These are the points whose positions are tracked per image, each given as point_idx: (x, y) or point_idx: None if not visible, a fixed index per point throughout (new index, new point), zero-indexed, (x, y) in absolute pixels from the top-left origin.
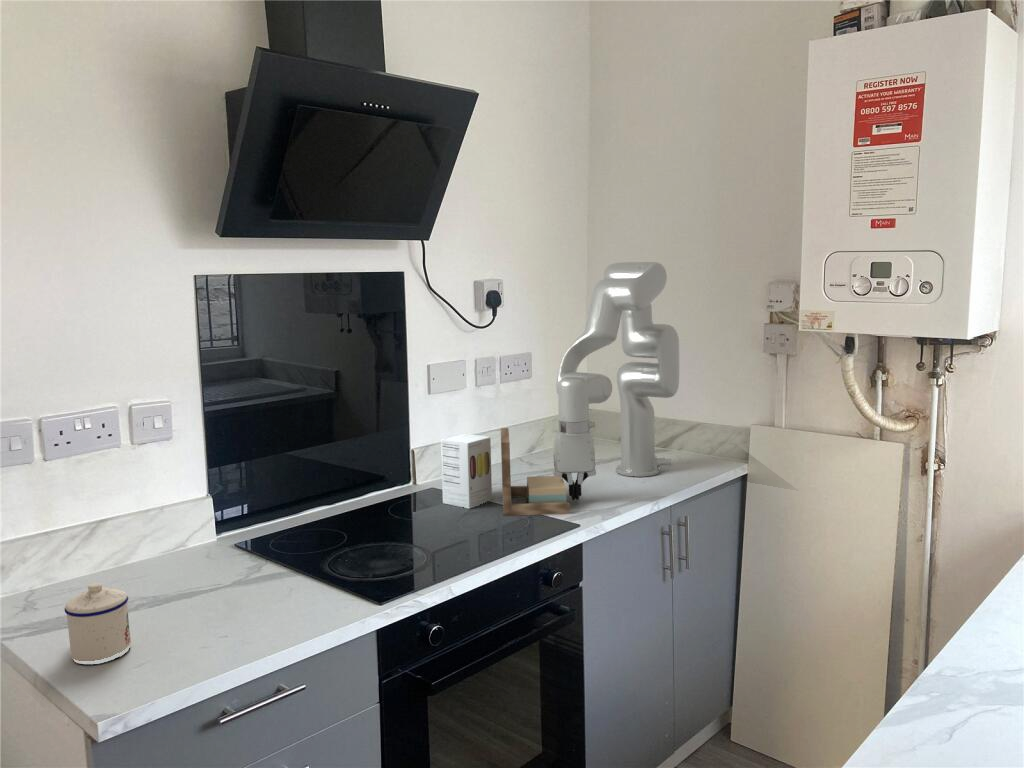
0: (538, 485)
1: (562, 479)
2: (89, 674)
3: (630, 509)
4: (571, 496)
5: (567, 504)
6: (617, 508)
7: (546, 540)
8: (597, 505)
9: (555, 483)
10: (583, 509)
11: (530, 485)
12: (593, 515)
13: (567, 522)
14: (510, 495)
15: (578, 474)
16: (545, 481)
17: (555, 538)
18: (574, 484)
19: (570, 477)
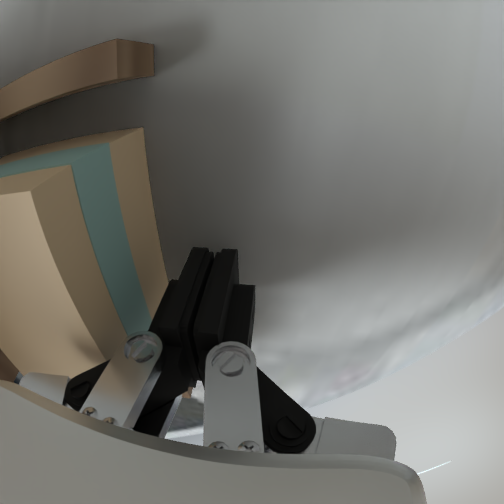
0: (30, 367)
1: (80, 323)
2: None
3: (428, 352)
4: (194, 250)
5: (183, 394)
6: (396, 344)
7: (167, 433)
8: (336, 308)
9: None
10: (256, 342)
11: (7, 354)
12: (282, 386)
13: (197, 403)
14: (16, 374)
15: (217, 419)
16: (15, 327)
17: (181, 434)
18: (194, 372)
19: (154, 427)
